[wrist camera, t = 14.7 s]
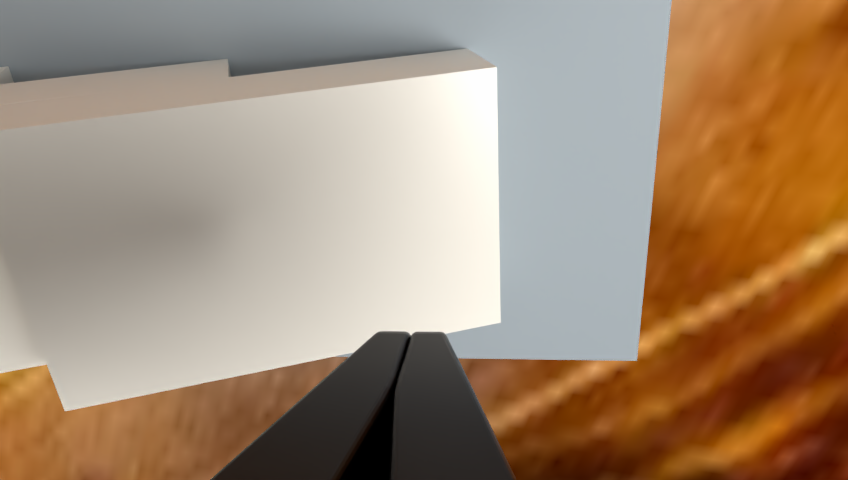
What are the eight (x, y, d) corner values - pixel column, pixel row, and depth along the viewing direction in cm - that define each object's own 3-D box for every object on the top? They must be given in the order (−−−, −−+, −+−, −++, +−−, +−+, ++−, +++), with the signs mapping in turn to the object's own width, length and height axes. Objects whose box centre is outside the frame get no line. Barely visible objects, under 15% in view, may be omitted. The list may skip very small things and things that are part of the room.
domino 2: (496, 67, 11) (-42, 135, 10) (500, 322, 14) (64, 411, 12) (466, 48, 13) (-9, 106, 11) (474, 283, 15) (81, 357, 13)
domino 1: (228, 76, 12) (-324, 142, 10) (274, 321, 14) (-172, 405, 13) (227, 58, 13) (-259, 113, 12) (270, 283, 16) (-133, 354, 14)
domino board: (667, -87, 12) (682, -83, 11) (630, 334, 16) (638, 366, 15) (-432, -19, 15) (-502, -11, 14) (-228, 326, 19) (-271, 352, 18)
